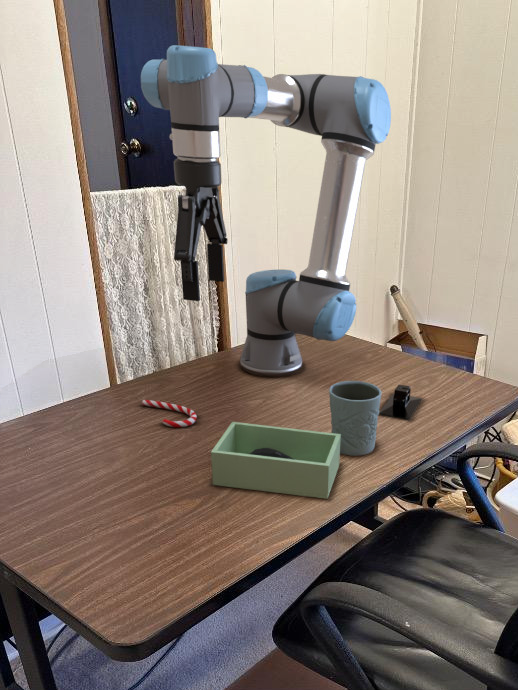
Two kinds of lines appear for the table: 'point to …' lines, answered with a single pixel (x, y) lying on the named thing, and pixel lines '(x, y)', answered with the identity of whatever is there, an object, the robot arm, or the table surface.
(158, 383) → the table surface
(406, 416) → the black bracket mount
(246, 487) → the open rectangular box
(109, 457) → the table surface
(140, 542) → the table surface
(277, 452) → the gaming mouse
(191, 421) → the candy cane
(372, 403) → the blue-grey embossed cup
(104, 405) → the table surface
